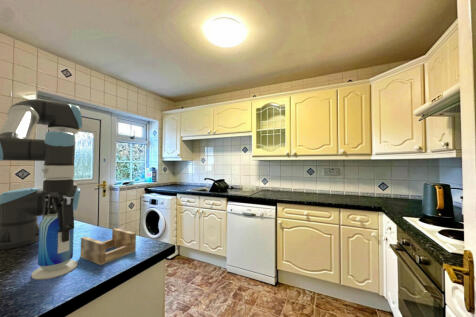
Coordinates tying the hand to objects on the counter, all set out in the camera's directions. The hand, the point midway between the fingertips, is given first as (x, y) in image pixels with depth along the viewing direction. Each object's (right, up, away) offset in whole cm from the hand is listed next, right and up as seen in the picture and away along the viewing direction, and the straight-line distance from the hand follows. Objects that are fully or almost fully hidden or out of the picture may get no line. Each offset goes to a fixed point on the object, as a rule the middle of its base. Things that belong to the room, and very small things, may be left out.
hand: (56, 248), depth 65 cm
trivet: (0, -7, 0) cm, 7 cm away
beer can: (0, -5, 0) cm, 5 cm away
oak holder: (+10, -7, +12) cm, 17 cm away
